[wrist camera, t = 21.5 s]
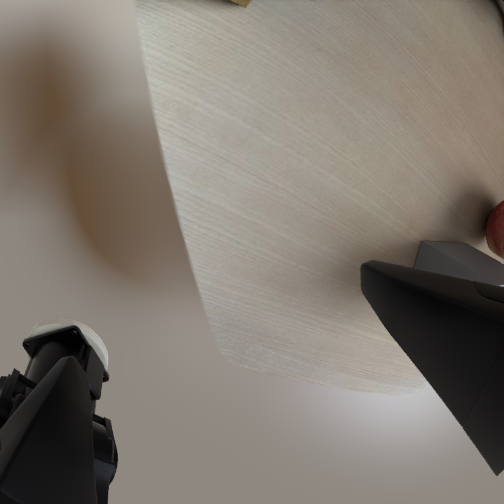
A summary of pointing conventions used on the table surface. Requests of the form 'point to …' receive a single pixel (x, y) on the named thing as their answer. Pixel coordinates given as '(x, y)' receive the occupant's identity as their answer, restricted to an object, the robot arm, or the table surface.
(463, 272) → the grey grooved block
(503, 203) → the fruit
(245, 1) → the green book
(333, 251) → the table surface
